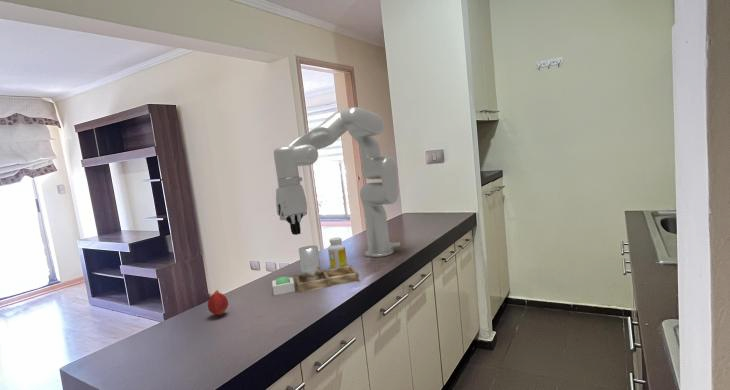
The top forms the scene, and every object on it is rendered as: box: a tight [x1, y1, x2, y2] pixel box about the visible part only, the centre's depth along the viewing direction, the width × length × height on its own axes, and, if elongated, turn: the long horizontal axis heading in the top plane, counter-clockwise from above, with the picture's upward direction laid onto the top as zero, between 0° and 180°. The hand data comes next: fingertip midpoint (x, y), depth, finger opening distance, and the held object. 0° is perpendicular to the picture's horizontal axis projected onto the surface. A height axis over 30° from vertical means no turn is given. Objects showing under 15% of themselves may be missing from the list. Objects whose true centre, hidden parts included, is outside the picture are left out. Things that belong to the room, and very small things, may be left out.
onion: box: [207, 289, 229, 317], centre depth 119 cm, size 6×6×8 cm
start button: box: [276, 275, 290, 285], centre depth 133 cm, size 4×4×5 cm
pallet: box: [294, 265, 360, 293], centre depth 138 cm, size 21×12×4 cm, turn 104°
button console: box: [271, 276, 296, 296], centre depth 133 cm, size 7×7×4 cm
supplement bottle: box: [327, 236, 348, 269], centre depth 152 cm, size 7×7×13 cm
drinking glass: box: [298, 245, 322, 283], centre depth 136 cm, size 7×7×13 cm
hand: (296, 233), depth 138 cm, fingers closed
